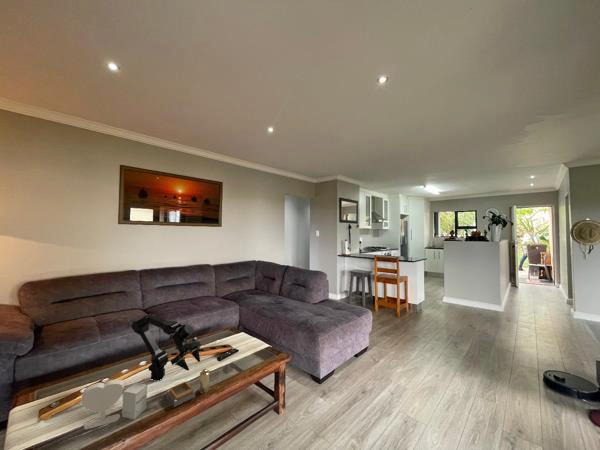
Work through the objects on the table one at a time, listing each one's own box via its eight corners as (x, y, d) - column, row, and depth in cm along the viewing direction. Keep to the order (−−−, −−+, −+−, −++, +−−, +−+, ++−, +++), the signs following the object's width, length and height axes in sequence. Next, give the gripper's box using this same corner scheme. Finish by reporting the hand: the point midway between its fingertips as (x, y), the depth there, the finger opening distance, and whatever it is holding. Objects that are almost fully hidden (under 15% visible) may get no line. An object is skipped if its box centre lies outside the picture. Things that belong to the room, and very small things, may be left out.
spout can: (197, 392, 141) (198, 370, 141) (203, 386, 146) (203, 366, 146) (205, 394, 139) (206, 373, 139) (211, 388, 144) (212, 368, 144)
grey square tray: (174, 408, 128) (174, 398, 128) (166, 397, 136) (166, 388, 136) (195, 397, 136) (195, 388, 136) (186, 388, 144) (187, 379, 144)
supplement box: (134, 420, 120) (135, 394, 120) (121, 417, 121) (122, 391, 121) (146, 408, 127) (147, 384, 127) (134, 406, 128) (135, 381, 128)
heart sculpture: (123, 412, 124) (124, 376, 124) (121, 419, 120) (123, 382, 119) (83, 422, 117) (84, 384, 117) (79, 431, 112) (81, 391, 112)
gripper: (177, 342, 136) (191, 367, 133) (200, 328, 154) (213, 351, 151) (164, 352, 139) (178, 377, 136) (188, 338, 156) (201, 360, 154)
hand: (194, 365), depth 144 cm, fingers open, 9 cm apart
